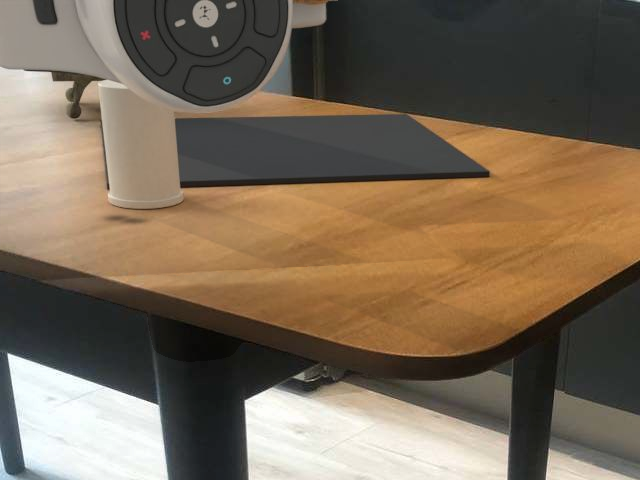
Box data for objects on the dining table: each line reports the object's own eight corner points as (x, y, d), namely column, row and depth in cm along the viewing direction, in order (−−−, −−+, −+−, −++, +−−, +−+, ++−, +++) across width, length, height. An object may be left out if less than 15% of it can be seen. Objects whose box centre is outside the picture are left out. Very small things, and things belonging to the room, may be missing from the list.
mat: (107, 189, 91) (106, 183, 91) (100, 124, 116) (100, 119, 116) (489, 176, 100) (490, 171, 99) (406, 118, 124) (406, 113, 124)
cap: (109, 210, 86) (95, 89, 81) (107, 192, 91) (94, 77, 86) (186, 207, 87) (177, 88, 82) (180, 190, 92) (171, 76, 87)
